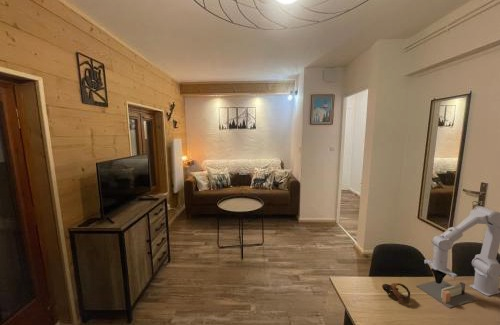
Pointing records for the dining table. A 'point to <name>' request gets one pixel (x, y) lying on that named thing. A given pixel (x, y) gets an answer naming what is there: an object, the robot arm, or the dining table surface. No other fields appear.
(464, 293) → the gate post
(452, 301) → the mat
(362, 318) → the dining table surface
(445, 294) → the block
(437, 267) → the robot arm
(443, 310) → the dining table surface
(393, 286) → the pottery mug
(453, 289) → the bar
